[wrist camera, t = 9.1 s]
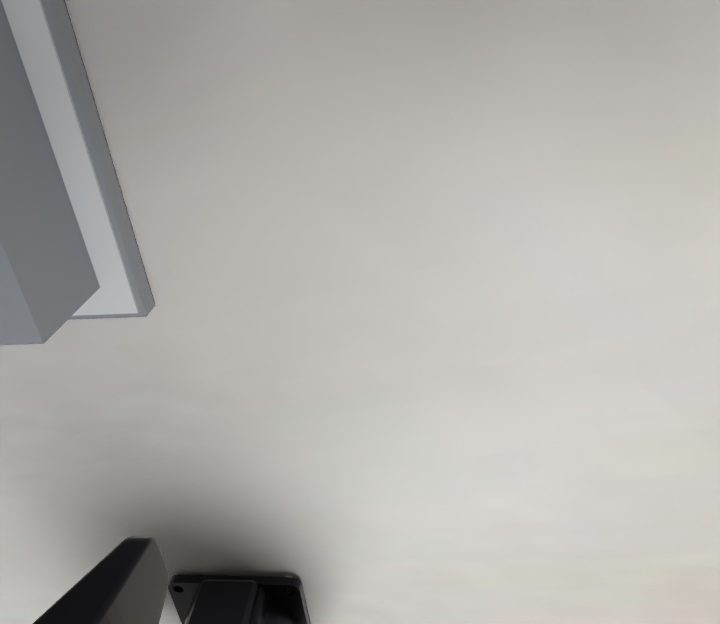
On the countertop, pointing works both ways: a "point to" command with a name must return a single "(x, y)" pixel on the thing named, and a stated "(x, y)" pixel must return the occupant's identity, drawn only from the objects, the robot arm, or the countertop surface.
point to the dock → (57, 187)
